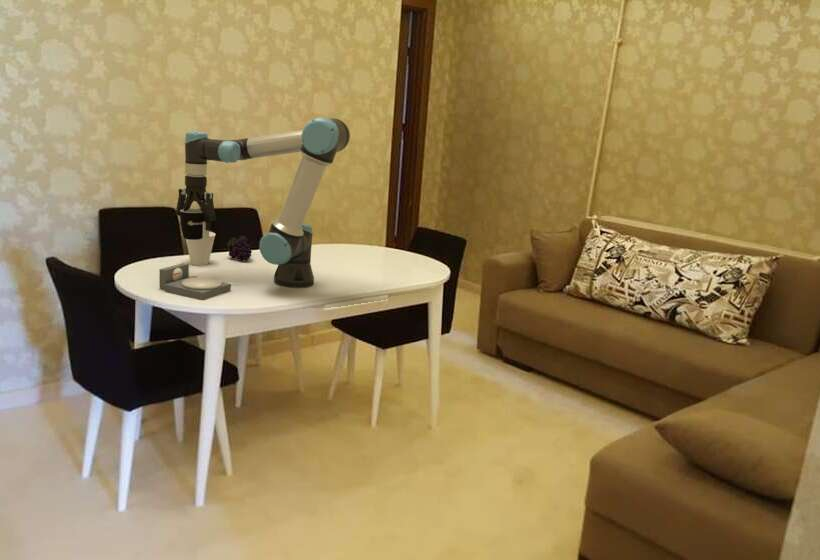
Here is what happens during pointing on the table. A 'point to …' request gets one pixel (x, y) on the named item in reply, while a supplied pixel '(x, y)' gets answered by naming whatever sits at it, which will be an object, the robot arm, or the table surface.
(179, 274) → the scale
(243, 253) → the fruit
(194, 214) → the mug
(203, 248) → the cup
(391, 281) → the table surface
